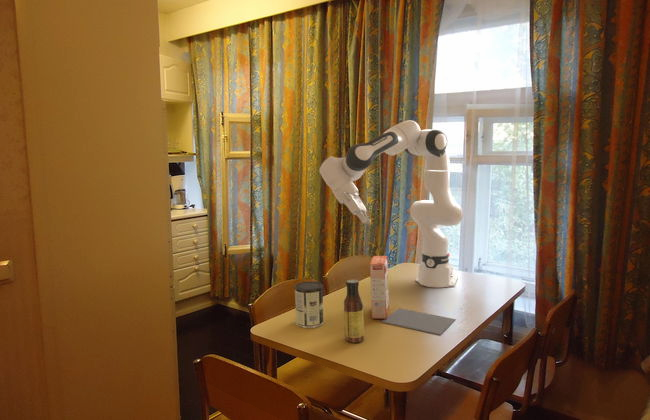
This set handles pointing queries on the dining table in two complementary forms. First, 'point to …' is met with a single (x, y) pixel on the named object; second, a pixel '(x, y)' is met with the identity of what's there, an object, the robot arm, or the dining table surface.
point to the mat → (419, 321)
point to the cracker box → (379, 287)
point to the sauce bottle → (353, 313)
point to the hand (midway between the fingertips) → (367, 222)
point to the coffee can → (309, 304)
